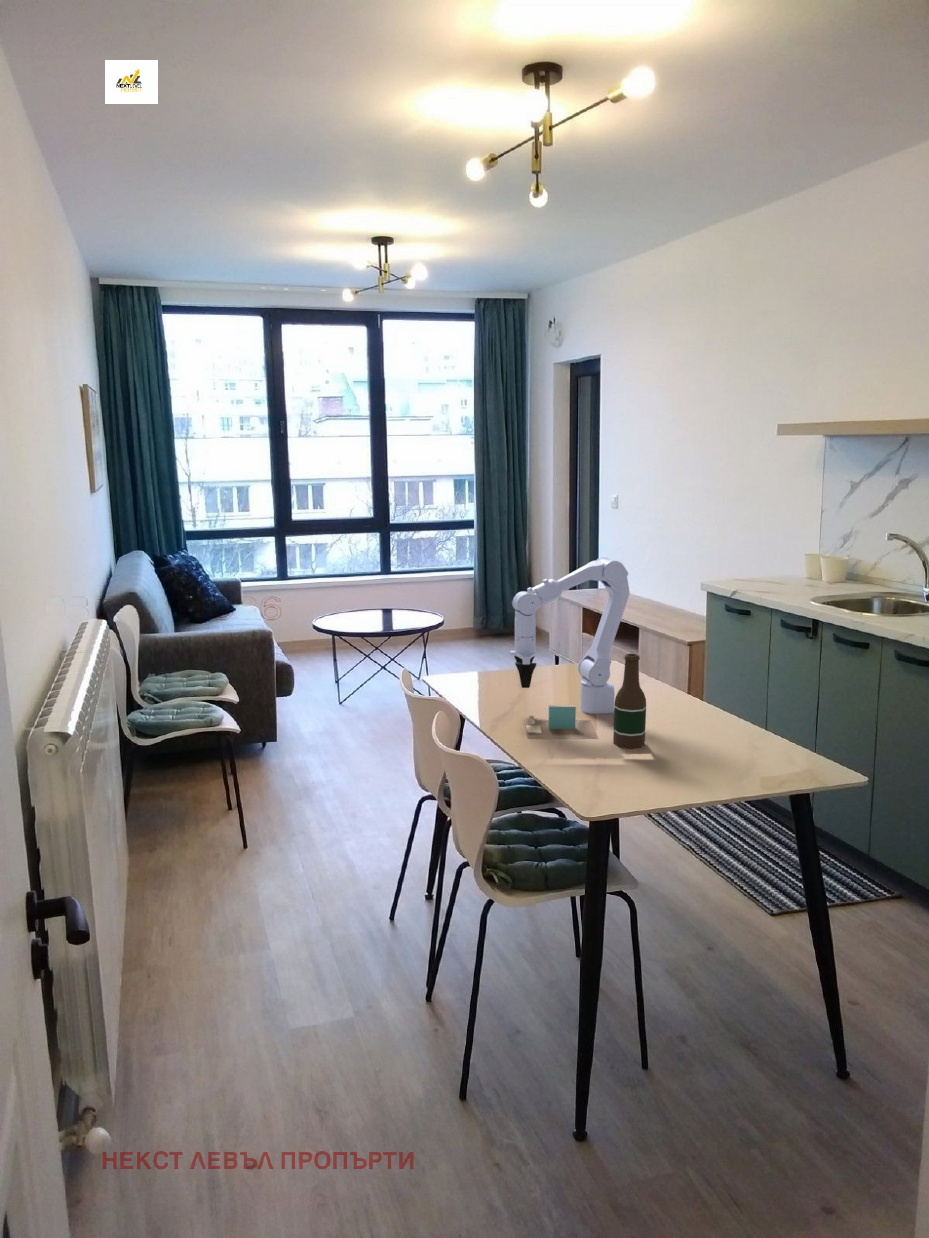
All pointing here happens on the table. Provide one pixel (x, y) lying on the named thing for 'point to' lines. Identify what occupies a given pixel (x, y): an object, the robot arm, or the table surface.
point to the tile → (561, 716)
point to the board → (564, 731)
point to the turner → (533, 727)
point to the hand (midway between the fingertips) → (524, 684)
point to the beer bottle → (630, 708)
